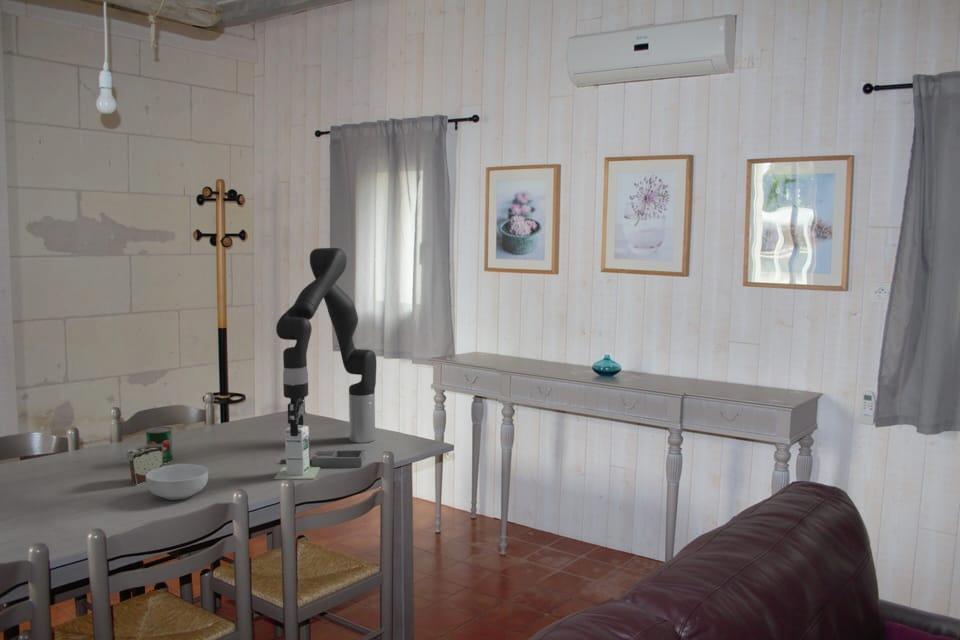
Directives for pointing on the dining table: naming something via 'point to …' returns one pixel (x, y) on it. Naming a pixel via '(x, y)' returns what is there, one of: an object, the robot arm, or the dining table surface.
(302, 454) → the syrup box
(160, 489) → the cereal bowl
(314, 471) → the sage mat
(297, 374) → the robot arm
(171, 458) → the canned tomato
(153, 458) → the slice of cake
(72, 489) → the dining table surface
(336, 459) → the rectangular frying pan
